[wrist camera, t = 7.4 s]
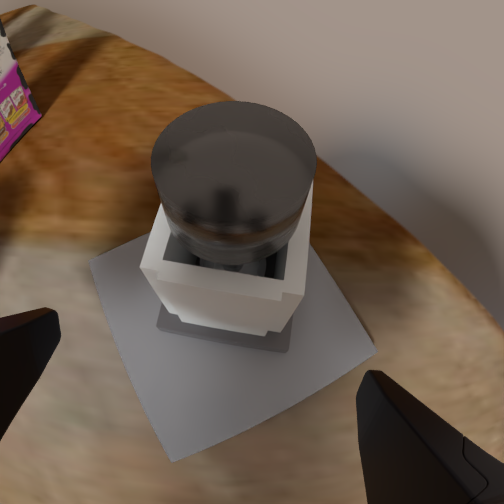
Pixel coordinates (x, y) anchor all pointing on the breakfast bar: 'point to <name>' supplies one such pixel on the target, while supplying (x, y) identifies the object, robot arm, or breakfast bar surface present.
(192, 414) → the slate mat
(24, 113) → the candy bar box
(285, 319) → the white square sleeve
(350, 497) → the breakfast bar surface
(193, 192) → the plunger
